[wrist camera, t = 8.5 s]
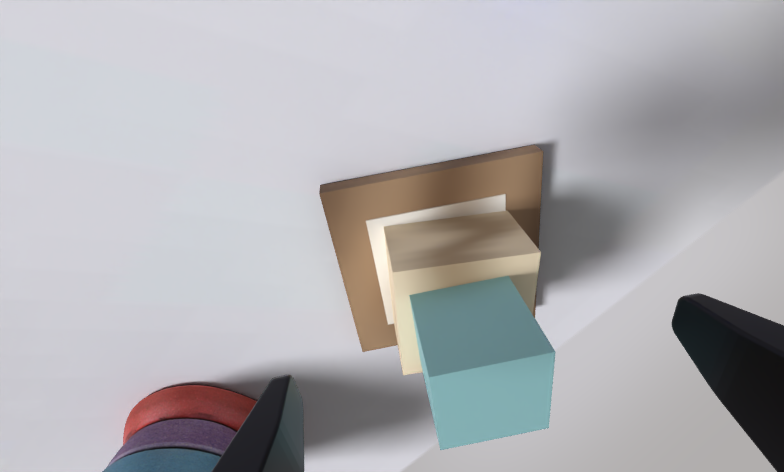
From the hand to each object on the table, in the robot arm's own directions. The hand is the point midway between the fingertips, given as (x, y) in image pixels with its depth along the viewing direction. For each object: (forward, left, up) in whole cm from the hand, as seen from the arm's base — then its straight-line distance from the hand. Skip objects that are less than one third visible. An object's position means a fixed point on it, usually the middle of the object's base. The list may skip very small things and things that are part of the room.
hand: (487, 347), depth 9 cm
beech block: (-1, +6, -11) cm, 13 cm away
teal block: (-1, +6, -7) cm, 10 cm away
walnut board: (-1, +6, -12) cm, 14 cm away
